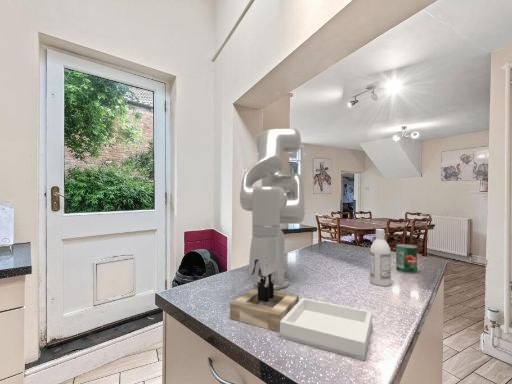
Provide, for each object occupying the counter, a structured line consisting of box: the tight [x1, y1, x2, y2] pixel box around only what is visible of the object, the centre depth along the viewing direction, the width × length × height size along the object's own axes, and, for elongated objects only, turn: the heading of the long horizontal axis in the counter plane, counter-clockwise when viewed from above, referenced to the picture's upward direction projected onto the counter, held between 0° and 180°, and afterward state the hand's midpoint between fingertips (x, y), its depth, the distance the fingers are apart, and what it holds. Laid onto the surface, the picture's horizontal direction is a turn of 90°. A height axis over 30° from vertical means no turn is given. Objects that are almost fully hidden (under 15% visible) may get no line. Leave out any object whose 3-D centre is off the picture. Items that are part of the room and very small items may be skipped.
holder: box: [229, 286, 300, 333], centre depth 71 cm, size 14×14×4 cm
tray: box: [279, 297, 373, 362], centre depth 62 cm, size 16×18×4 cm
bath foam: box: [369, 228, 392, 287], centre depth 97 cm, size 7×7×20 cm
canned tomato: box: [395, 243, 418, 275], centre depth 113 cm, size 8×8×11 cm
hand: (265, 298), depth 71 cm, fingers closed, pressing on screw
